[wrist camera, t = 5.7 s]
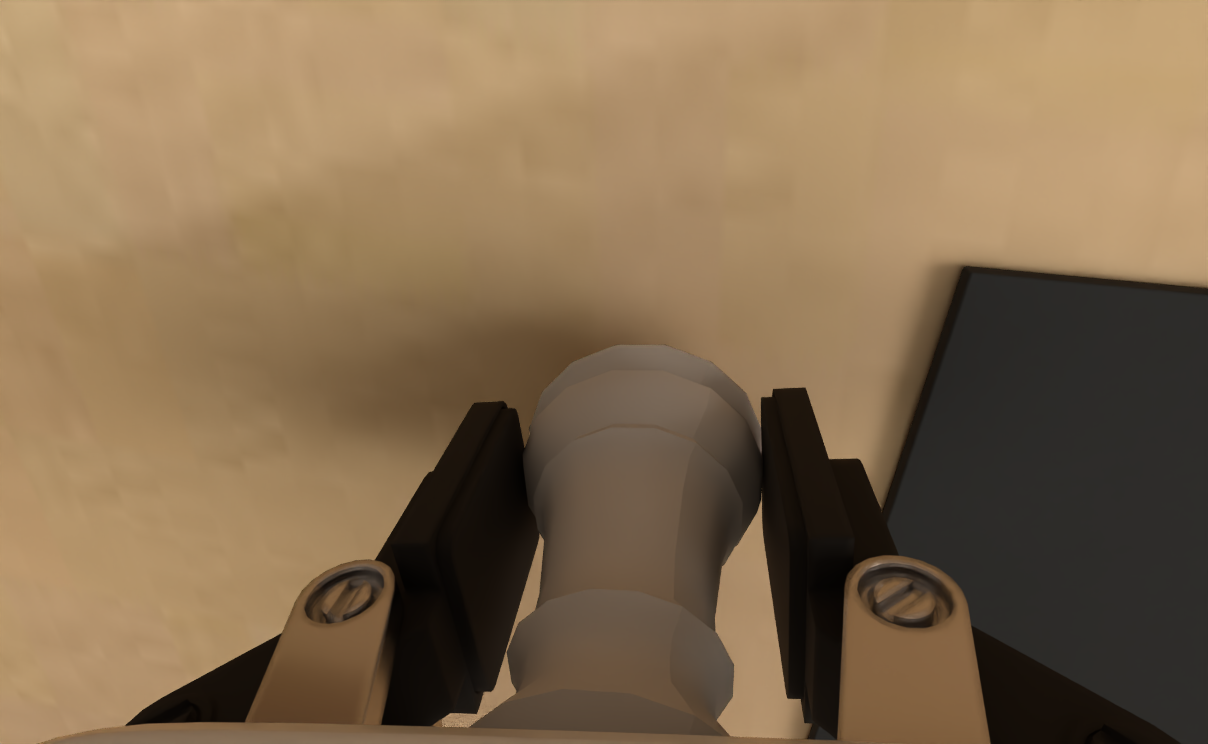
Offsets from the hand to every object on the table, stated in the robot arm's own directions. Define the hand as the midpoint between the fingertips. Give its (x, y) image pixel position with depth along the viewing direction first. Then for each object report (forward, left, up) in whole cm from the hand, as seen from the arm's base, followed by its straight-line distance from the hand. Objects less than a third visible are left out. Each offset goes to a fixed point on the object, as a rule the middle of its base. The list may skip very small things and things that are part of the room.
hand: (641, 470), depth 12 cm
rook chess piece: (0, 0, -1) cm, 1 cm away
